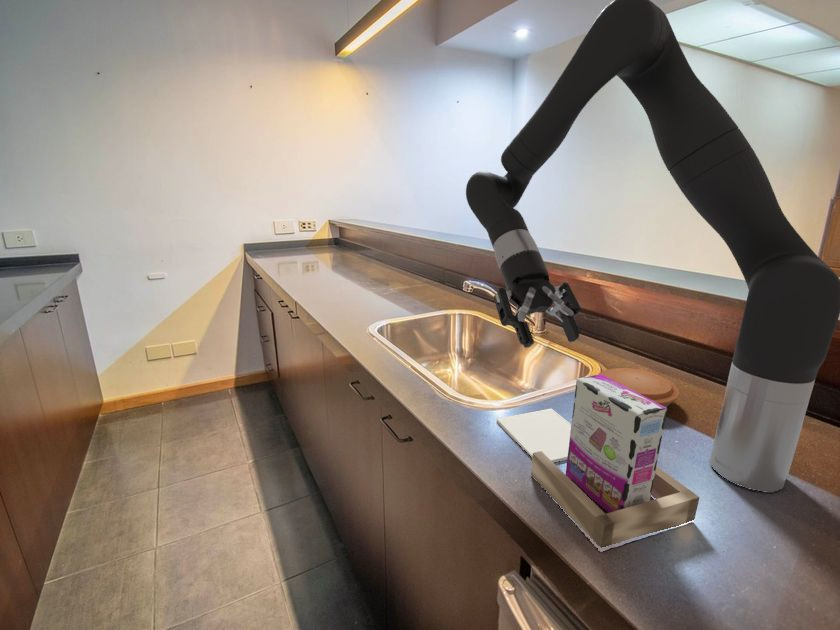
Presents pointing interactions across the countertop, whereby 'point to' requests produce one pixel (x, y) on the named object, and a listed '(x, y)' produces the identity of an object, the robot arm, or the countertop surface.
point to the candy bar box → (614, 443)
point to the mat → (540, 433)
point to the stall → (619, 525)
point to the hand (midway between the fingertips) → (552, 342)
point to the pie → (645, 384)
